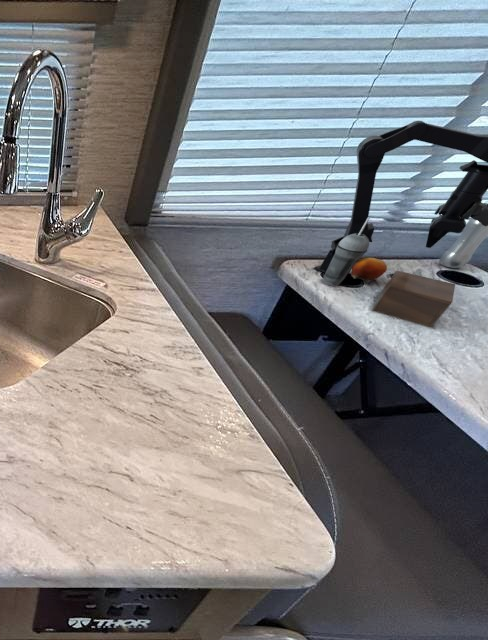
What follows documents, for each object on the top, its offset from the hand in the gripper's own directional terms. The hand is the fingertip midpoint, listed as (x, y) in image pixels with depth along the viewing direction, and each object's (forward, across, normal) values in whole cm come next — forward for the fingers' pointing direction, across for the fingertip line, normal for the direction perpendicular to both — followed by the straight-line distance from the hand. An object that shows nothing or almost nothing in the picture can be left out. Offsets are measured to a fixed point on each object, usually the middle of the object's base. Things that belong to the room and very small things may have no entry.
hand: (428, 247), depth 114 cm
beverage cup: (+12, -14, +16) cm, 24 cm away
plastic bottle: (+12, +27, -10) cm, 31 cm away
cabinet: (+12, -19, -3) cm, 22 cm away
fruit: (+12, -4, +9) cm, 16 cm away
